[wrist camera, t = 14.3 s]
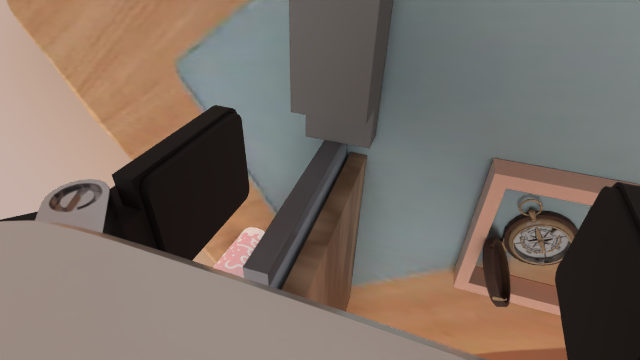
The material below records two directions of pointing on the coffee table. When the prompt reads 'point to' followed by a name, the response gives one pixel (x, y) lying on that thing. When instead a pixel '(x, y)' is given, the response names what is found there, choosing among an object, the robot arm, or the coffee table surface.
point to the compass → (525, 248)
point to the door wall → (332, 242)
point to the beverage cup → (239, 252)
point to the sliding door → (296, 218)
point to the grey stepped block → (338, 66)
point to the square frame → (495, 185)
